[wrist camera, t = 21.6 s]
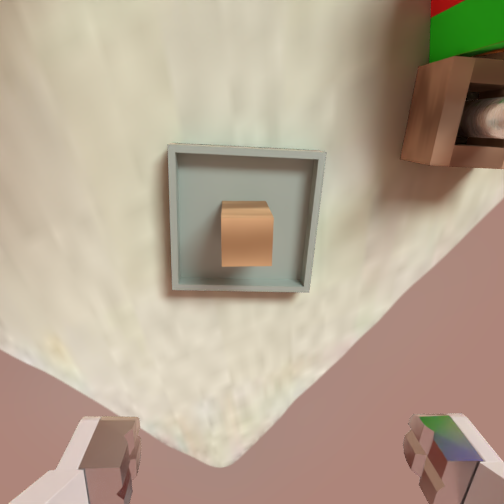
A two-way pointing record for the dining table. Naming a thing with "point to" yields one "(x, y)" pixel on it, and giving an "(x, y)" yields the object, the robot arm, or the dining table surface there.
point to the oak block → (246, 233)
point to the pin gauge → (482, 118)
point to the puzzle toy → (466, 28)
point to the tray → (242, 189)
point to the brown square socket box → (452, 113)
